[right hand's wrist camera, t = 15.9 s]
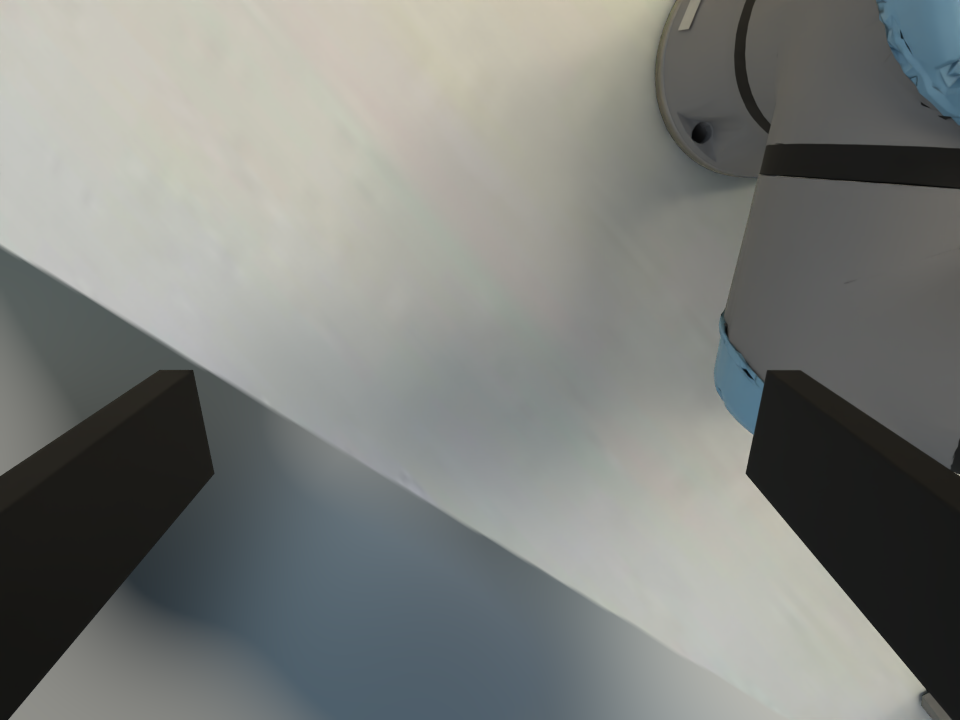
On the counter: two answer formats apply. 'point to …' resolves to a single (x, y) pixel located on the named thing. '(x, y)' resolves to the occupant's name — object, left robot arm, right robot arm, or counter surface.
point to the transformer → (933, 708)
